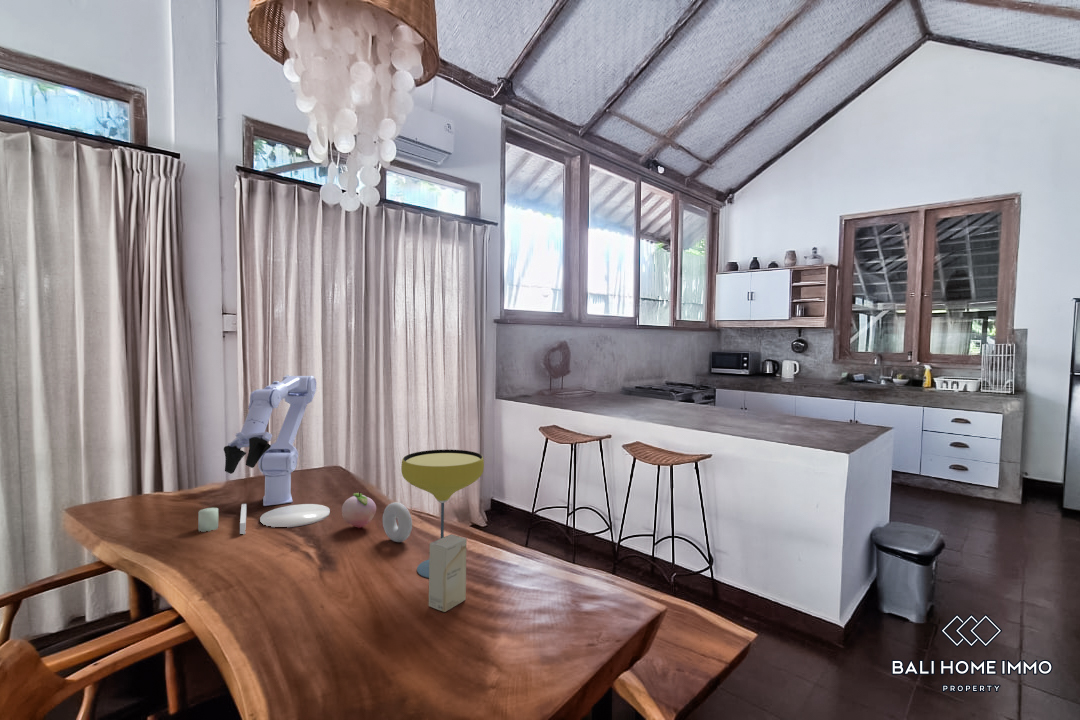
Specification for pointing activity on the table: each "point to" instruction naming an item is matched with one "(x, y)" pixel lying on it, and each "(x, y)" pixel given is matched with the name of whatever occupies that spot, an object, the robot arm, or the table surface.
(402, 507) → the donut
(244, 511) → the light grey rectangular bar
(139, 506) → the table surface
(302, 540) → the table surface
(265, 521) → the white plate
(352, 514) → the decorative fruit
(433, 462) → the cocktail glass
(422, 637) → the table surface
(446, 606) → the skincare box
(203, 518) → the green cylinder
